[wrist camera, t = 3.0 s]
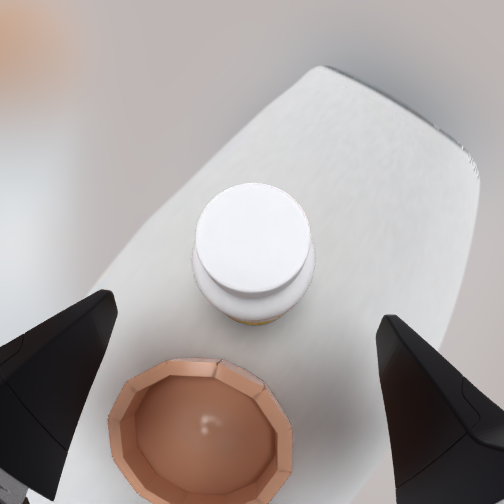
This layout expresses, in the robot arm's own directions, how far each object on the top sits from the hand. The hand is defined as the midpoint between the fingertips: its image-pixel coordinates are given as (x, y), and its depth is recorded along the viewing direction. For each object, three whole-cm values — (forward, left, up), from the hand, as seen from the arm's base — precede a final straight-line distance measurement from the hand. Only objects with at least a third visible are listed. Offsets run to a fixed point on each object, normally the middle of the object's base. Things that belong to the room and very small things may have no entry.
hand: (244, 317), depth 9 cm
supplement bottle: (+2, -2, -10) cm, 10 cm away
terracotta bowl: (-5, +6, -10) cm, 13 cm away
